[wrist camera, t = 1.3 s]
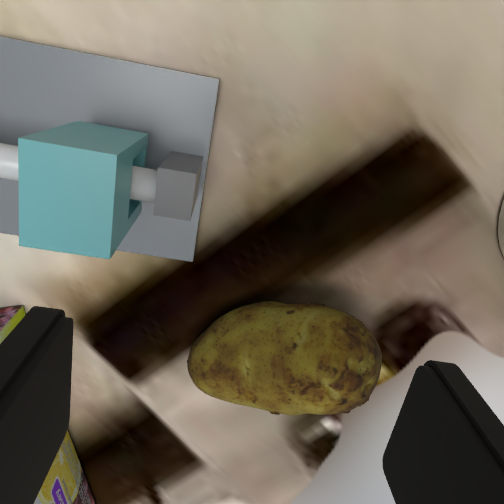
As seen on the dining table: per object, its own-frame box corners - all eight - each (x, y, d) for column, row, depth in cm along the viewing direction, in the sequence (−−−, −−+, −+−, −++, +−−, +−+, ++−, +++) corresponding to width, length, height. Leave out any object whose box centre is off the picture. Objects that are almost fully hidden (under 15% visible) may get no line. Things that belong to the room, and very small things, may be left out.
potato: (196, 271, 32) (185, 329, 25) (366, 287, 33) (405, 348, 26) (188, 365, 35) (176, 442, 28) (344, 377, 36) (373, 454, 29)
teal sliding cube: (148, 133, 25) (117, 155, 18) (141, 212, 27) (109, 259, 20) (77, 120, 25) (18, 138, 18) (74, 201, 27) (19, 245, 20)
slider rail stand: (219, 79, 27) (215, 80, 21) (194, 255, 32) (183, 303, 25) (-163, 4, 25) (-310, -23, 18) (-135, 205, 29) (-245, 244, 23)
